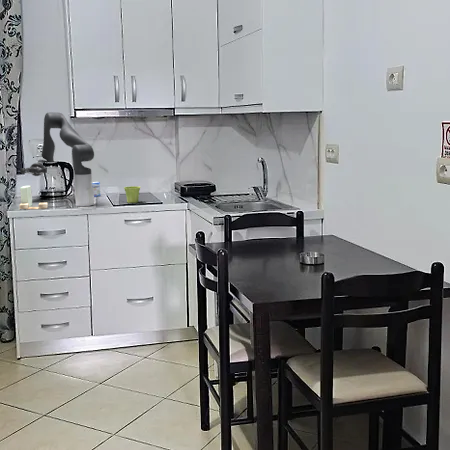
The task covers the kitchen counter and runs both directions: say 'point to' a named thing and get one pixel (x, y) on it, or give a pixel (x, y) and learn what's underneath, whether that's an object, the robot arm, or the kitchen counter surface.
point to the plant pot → (132, 194)
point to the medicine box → (96, 188)
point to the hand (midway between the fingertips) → (30, 171)
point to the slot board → (26, 206)
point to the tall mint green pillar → (26, 195)
